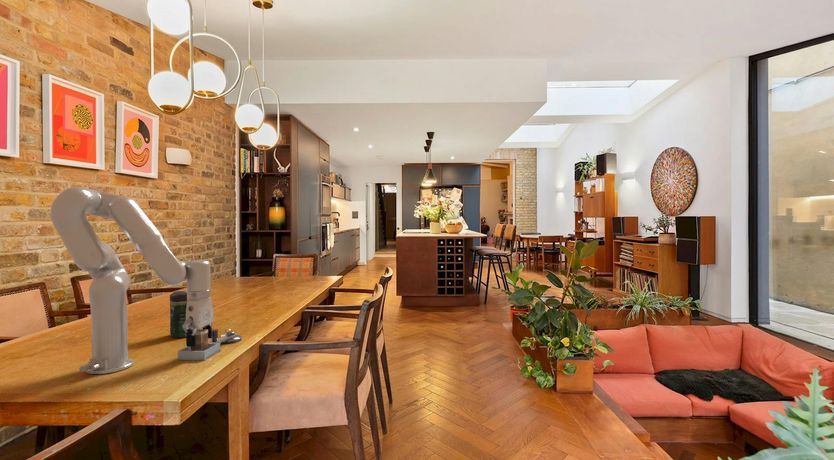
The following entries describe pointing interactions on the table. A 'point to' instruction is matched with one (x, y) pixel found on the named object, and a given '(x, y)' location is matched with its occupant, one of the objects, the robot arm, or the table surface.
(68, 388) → the table surface
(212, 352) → the tray
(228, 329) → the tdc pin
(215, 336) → the crank
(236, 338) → the hub
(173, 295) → the coffee jar
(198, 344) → the block
